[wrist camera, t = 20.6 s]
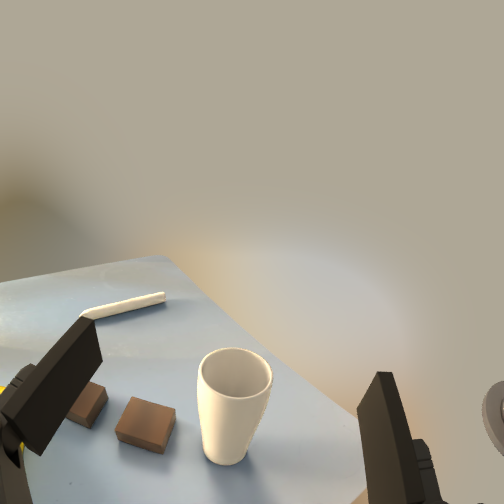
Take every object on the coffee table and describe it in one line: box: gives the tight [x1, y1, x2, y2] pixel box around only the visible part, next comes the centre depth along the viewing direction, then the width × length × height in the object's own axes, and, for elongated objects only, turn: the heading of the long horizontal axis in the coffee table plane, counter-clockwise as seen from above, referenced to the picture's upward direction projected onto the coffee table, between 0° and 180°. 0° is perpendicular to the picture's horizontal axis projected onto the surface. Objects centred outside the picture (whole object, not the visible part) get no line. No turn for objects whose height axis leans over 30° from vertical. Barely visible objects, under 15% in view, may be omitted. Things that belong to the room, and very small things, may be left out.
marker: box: [79, 292, 166, 320], centre depth 53 cm, size 18×2×2 cm, turn 130°
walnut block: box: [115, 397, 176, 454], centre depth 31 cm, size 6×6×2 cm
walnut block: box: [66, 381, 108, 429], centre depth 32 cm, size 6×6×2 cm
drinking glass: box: [197, 348, 273, 465], centre depth 28 cm, size 7×7×15 cm
